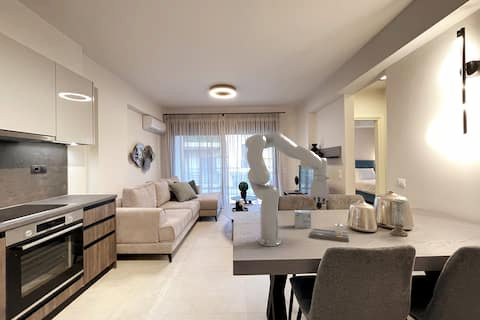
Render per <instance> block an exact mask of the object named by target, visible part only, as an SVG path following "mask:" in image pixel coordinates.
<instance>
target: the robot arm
mask: <svg viewBox="0 0 480 320" xmlns="http://www.w3.org/2000/svg"><path fill="white" fill-rule="evenodd" d="M244 145H245V148H246V150H247V151H246V161H247V164H248V167H249V170H248V172H247V180H248V182H249V184H250V187H251V189H252V191H253V193H254V195H255V197H256V198H257V199H258V200H260V201H261V203H260V211H259V212H260V237H259V238H258V240H257V242H258V244H259V245H262V246H264V247H276V246H279V245H281V244H282V240H281V238H279V217H278V216H279V213H278V212H279V209H278V208H279V206H278V205H279V200H280V191H279V190H278V188H277V187H276V186H274V185H271V184H268V183H269V182H270V180H271V179H270V178H271V176H270V172H269V169H268V168H267V165H266V163H265V160H264V157H263V153H264V149H269V148H275V149H276V150H277V151H279V152H280V153H281V154H284V155H285V156H287V157H288V158H291V159H295V160H298V161H300V163H299V165H300V167H301V168H302V169H303V170H309V171H311V170H312V171H313V177H312V181H311V185H310V191H309V192H310V197H309V198H310V199H312V200H314V202H316V206H315V207H316V209H317V210H321V209H323V202H324V201H328V200H329V201H330V198H329V192H330V191H329V182H328V180H330V176H328V173H327V172H328V160H327V158H325V157H320V156H319V155H318V154H316V153H315V152H313V151H311V150H310V149H307V148H306V147H303V146H301V145H299V144H296V143H295V142H293V140H291V139H290V138H288V137H287V136H285V134H283V133H282V132H280V131H272V132H268V133H265V134H259V133H257V134H254V135H251V136H249V137H247V138H246V140H245V143H244ZM319 198H320V201H319Z"/></svg>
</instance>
